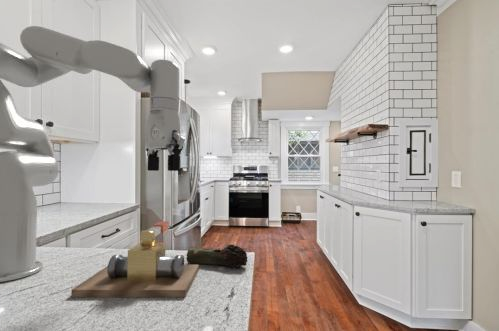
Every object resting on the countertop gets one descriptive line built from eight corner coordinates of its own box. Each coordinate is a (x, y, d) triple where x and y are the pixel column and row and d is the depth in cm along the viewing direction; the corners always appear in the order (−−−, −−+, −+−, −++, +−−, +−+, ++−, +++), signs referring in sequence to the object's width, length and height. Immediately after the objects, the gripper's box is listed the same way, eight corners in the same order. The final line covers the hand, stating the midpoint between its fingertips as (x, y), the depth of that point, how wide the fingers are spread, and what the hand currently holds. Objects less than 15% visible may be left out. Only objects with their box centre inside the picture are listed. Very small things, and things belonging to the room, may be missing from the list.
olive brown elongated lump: (185, 265, 74) (185, 245, 74) (197, 258, 80) (197, 239, 81) (243, 272, 68) (243, 250, 69) (251, 264, 75) (251, 244, 75)
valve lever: (151, 246, 60) (152, 232, 60) (138, 246, 60) (138, 232, 60) (169, 233, 74) (169, 221, 74) (158, 233, 74) (158, 221, 74)
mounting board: (71, 297, 54) (71, 289, 54) (109, 270, 69) (109, 264, 69) (185, 297, 54) (185, 289, 54) (198, 270, 69) (199, 264, 69)
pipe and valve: (105, 283, 58) (105, 250, 58) (120, 271, 65) (120, 242, 65) (177, 283, 58) (177, 250, 59) (184, 271, 65) (185, 242, 65)
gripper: (135, 109, 73) (133, 170, 72) (170, 99, 62) (169, 170, 61) (159, 114, 78) (158, 170, 78) (195, 105, 68) (194, 171, 67)
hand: (163, 170), depth 70 cm, fingers open, 9 cm apart
